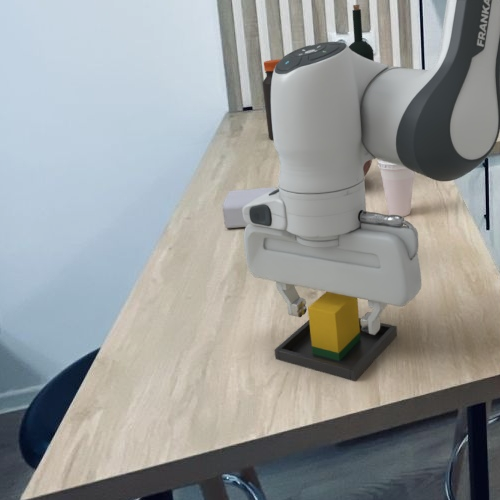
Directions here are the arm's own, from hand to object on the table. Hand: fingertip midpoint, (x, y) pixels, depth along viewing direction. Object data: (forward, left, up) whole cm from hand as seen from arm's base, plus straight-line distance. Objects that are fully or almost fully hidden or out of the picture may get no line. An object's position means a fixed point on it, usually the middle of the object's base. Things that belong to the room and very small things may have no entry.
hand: (332, 322), depth 74 cm
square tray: (0, 0, -4) cm, 4 cm away
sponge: (0, 0, -3) cm, 3 cm away
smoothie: (+12, -43, -4) cm, 45 cm away
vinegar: (+66, -87, -4) cm, 109 cm away
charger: (+33, -34, -4) cm, 47 cm away
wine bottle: (+54, -111, -4) cm, 123 cm away
